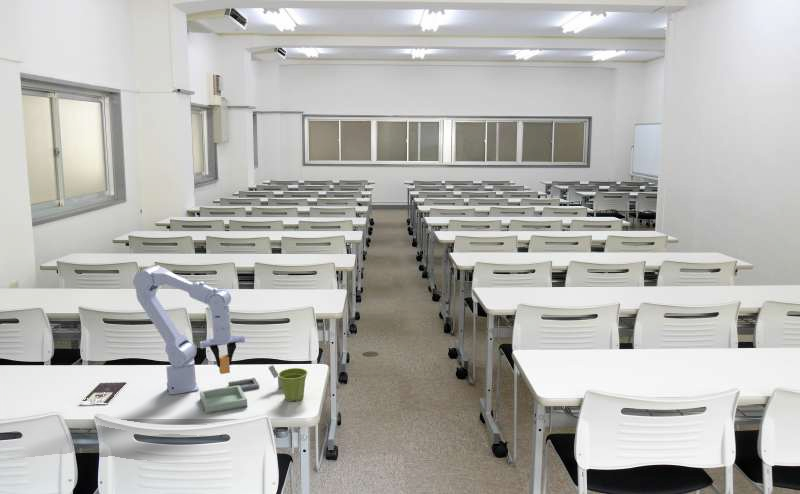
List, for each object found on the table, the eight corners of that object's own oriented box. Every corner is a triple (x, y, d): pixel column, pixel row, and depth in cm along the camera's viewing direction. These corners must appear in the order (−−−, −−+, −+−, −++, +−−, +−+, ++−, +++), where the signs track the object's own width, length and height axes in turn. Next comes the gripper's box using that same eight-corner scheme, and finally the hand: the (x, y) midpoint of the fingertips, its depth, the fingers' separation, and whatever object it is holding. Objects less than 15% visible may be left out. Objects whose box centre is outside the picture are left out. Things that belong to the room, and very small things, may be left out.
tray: (205, 414, 216) (205, 406, 215) (200, 399, 227) (199, 391, 227) (247, 406, 221) (246, 399, 220) (239, 392, 232) (239, 385, 232)
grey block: (291, 386, 237) (289, 364, 236) (290, 388, 236) (289, 365, 234) (270, 386, 237) (269, 364, 235) (269, 388, 235) (268, 366, 234)
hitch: (231, 392, 232) (231, 389, 232) (228, 385, 239) (228, 382, 238) (259, 388, 236) (258, 384, 236) (255, 381, 242) (254, 377, 242)
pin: (220, 374, 231) (219, 358, 230) (219, 371, 234) (218, 355, 233) (229, 372, 233) (228, 357, 231) (228, 369, 235) (227, 354, 234)
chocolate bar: (126, 382, 242) (107, 403, 224) (126, 384, 242) (107, 405, 224) (100, 383, 242) (78, 403, 224) (100, 385, 242) (79, 406, 224)
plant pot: (295, 406, 221) (294, 380, 219) (273, 400, 226) (272, 375, 224) (314, 395, 229) (313, 371, 227) (292, 390, 233) (291, 366, 232)
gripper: (200, 332, 224) (203, 372, 227) (245, 326, 230) (247, 365, 232) (197, 327, 231) (200, 365, 233) (241, 321, 236) (243, 359, 239)
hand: (224, 365), depth 233 cm, fingers closed on pin, 3 cm apart
